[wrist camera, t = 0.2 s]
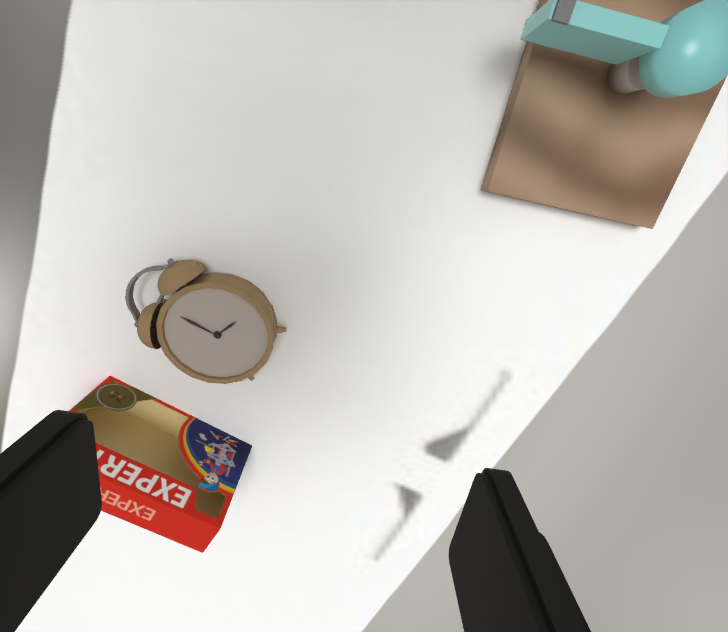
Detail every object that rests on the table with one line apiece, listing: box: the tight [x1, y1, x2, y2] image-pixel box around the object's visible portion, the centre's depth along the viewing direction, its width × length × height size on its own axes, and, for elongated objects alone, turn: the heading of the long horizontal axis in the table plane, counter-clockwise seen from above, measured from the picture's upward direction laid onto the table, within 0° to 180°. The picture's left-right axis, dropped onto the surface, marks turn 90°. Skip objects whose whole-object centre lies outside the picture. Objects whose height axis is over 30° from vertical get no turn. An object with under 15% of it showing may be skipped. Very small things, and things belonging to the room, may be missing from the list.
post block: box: [481, 0, 727, 229], centre depth 30 cm, size 22×16×7 cm
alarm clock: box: [125, 259, 286, 384], centre depth 40 cm, size 11×5×15 cm
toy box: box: [70, 376, 252, 553], centre depth 41 cm, size 18×4×12 cm, turn 56°
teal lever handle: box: [521, 0, 728, 98], centre depth 26 cm, size 12×5×5 cm, turn 78°
